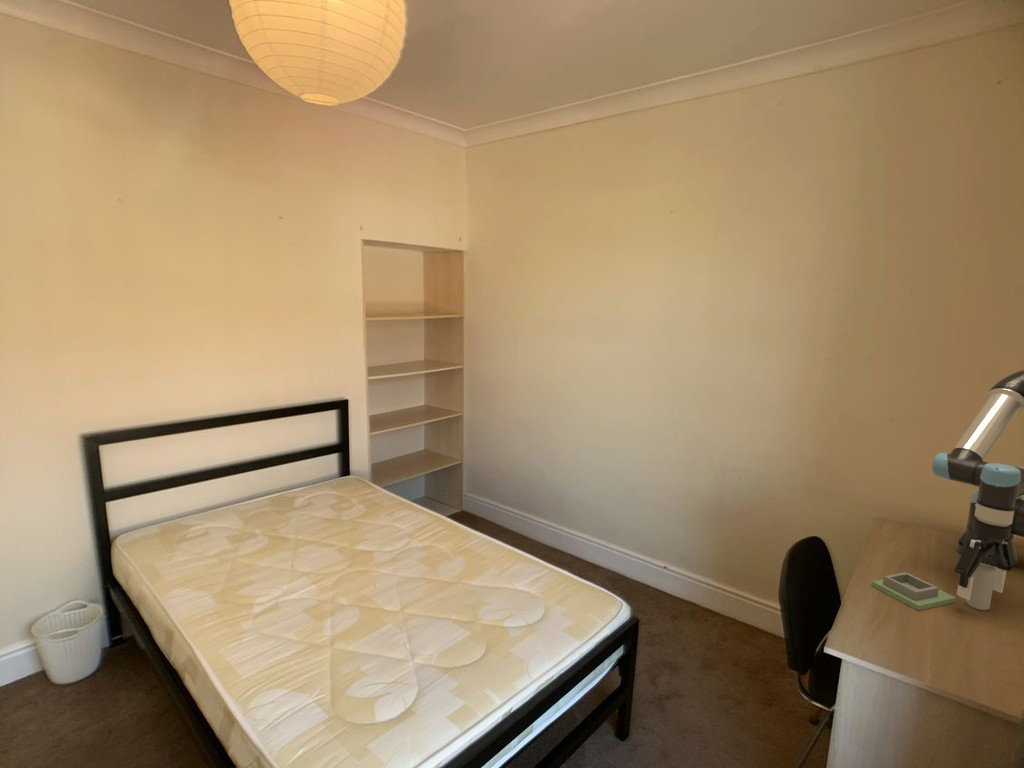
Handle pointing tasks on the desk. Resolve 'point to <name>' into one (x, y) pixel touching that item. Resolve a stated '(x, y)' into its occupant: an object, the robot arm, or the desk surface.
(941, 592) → the green tray with frame
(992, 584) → the beverage can
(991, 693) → the desk surface
